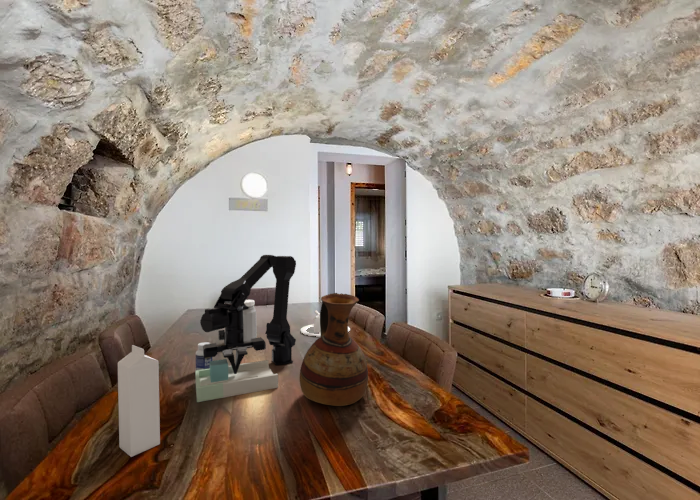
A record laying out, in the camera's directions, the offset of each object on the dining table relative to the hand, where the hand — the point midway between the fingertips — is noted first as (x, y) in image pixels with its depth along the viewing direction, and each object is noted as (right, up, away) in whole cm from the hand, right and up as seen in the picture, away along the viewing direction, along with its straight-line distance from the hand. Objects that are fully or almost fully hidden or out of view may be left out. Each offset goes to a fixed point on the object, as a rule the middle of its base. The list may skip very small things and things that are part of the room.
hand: (235, 373), depth 113 cm
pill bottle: (-14, -3, +9) cm, 17 cm away
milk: (-10, -4, -35) cm, 37 cm away
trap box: (+2, -3, -3) cm, 4 cm away
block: (-4, -1, -2) cm, 5 cm away
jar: (-11, -2, +48) cm, 49 cm away
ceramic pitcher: (+32, -3, -11) cm, 34 cm away
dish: (+24, -2, +64) cm, 69 cm away
